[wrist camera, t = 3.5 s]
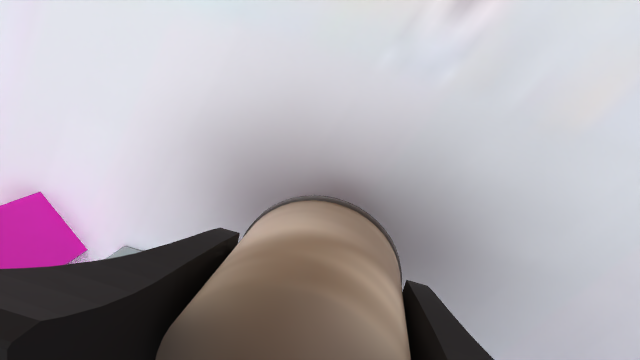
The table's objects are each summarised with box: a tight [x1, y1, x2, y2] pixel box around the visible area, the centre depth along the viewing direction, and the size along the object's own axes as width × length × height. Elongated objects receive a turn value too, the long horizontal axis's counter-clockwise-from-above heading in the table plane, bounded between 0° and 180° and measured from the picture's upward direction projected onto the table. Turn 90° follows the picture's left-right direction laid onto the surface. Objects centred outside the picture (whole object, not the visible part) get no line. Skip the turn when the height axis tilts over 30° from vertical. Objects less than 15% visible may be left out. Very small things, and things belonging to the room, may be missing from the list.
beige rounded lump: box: [156, 195, 411, 360], centre depth 11 cm, size 5×5×7 cm
